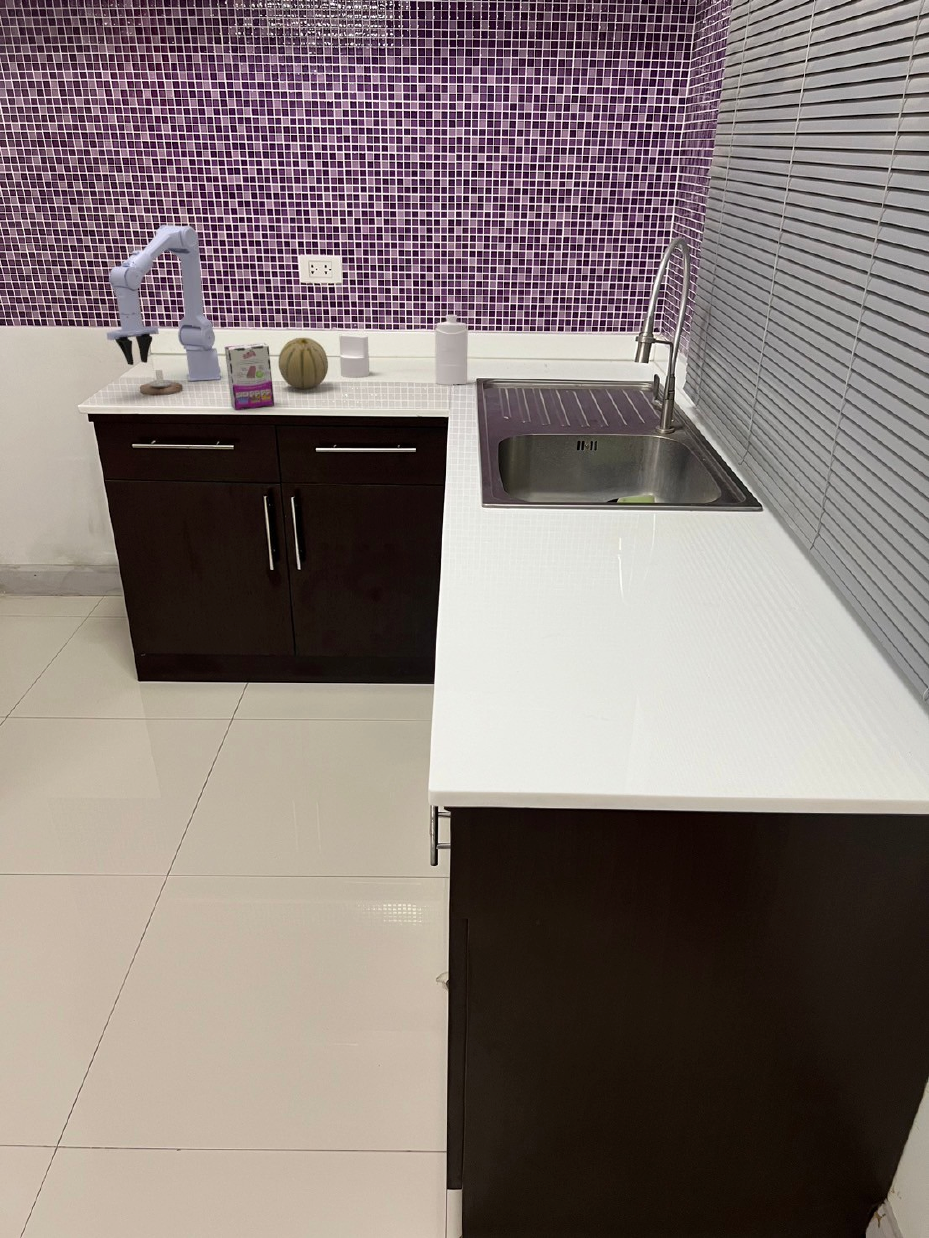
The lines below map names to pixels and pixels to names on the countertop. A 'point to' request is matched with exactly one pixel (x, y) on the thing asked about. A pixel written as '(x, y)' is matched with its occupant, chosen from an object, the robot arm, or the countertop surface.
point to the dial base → (161, 389)
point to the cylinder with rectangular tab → (354, 356)
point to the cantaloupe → (303, 363)
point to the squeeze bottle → (451, 352)
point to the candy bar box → (249, 376)
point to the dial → (160, 381)
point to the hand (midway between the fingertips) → (137, 363)
